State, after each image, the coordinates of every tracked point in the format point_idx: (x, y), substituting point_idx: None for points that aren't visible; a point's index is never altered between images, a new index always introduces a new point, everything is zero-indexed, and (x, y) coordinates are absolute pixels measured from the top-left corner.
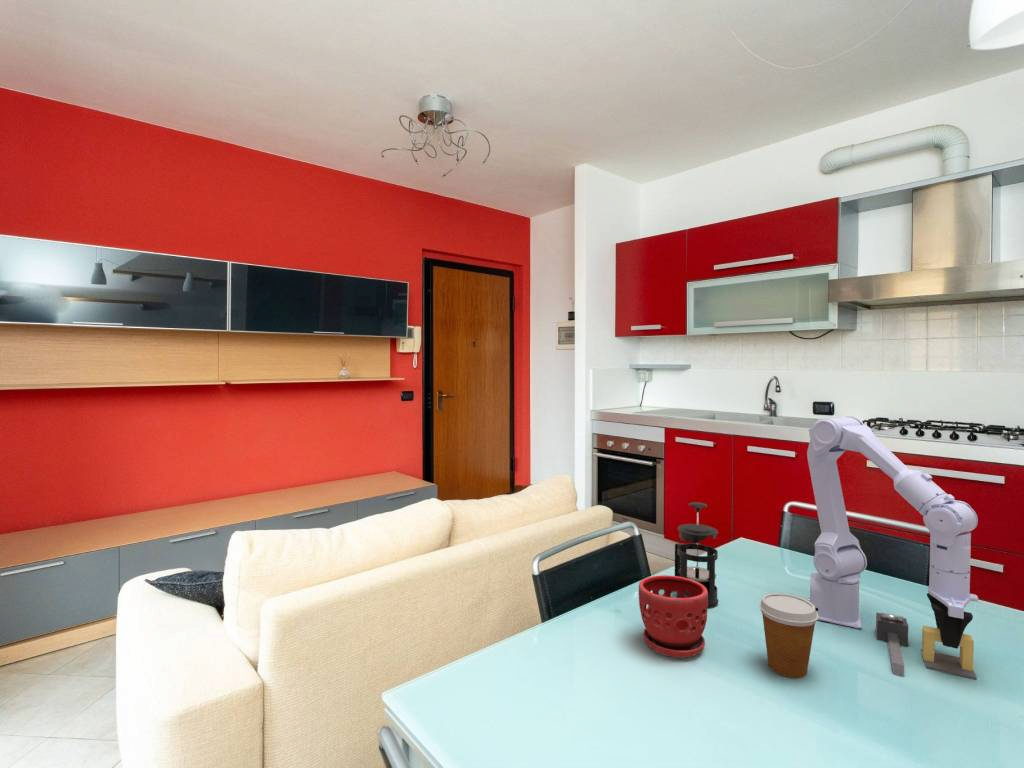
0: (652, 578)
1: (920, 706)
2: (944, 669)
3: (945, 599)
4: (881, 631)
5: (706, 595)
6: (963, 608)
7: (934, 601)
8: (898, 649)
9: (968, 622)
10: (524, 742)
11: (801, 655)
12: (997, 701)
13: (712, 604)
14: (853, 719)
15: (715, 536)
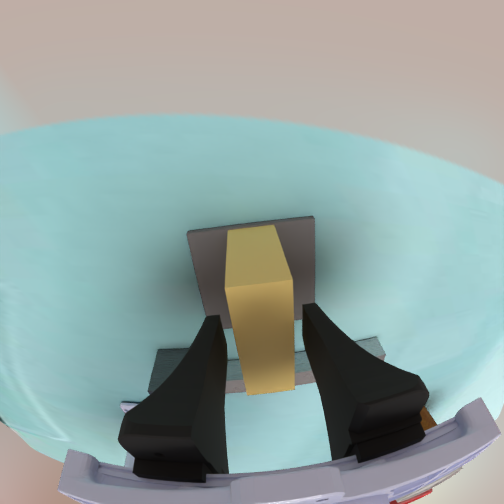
0: None
1: (459, 302)
2: (311, 285)
3: (418, 488)
4: None
5: (413, 497)
6: (499, 433)
7: (224, 463)
8: (309, 373)
9: (403, 372)
10: (493, 415)
11: (436, 424)
12: (404, 182)
13: None
14: (486, 345)
15: None
